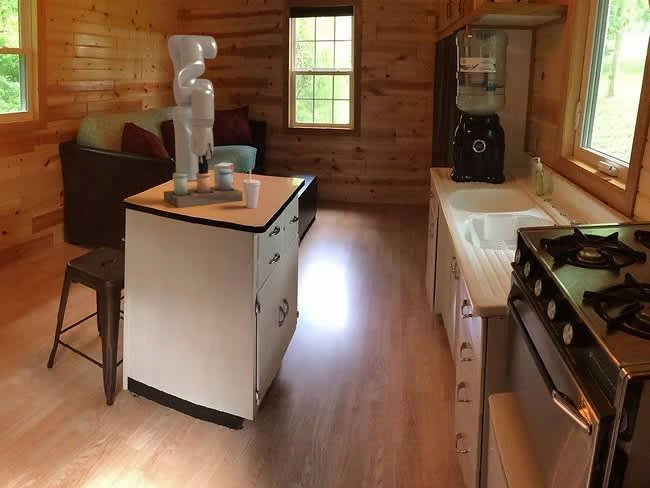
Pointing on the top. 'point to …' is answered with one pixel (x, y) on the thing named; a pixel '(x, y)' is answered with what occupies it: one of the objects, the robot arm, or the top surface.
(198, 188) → the pink lidded jar
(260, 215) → the top surface
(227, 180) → the blue-grey jar
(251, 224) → the top surface
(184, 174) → the sage button
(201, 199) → the button board
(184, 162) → the robot arm
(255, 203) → the smoothie
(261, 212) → the top surface
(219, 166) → the grey arched frame
